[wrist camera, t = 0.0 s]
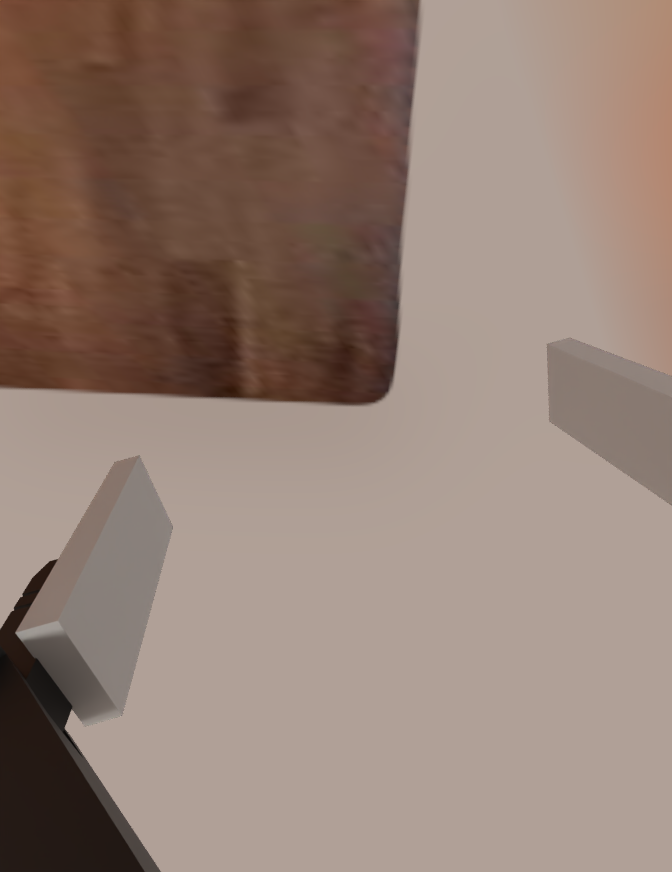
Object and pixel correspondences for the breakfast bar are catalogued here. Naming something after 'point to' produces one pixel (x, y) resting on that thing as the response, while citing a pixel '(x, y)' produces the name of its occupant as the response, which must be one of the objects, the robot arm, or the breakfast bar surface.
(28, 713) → the robot arm
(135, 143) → the breakfast bar surface
